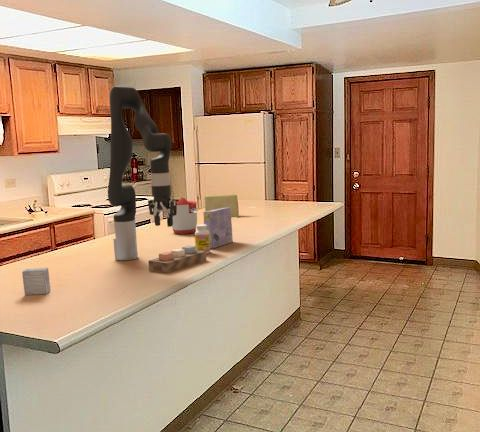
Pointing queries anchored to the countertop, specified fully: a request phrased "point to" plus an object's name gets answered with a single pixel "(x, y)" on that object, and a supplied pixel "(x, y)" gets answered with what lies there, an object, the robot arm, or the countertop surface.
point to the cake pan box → (219, 226)
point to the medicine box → (36, 281)
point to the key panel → (177, 262)
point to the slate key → (189, 249)
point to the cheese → (222, 203)
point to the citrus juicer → (185, 217)
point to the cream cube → (178, 252)
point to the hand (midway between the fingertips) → (163, 225)
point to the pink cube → (165, 256)
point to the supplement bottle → (202, 238)
